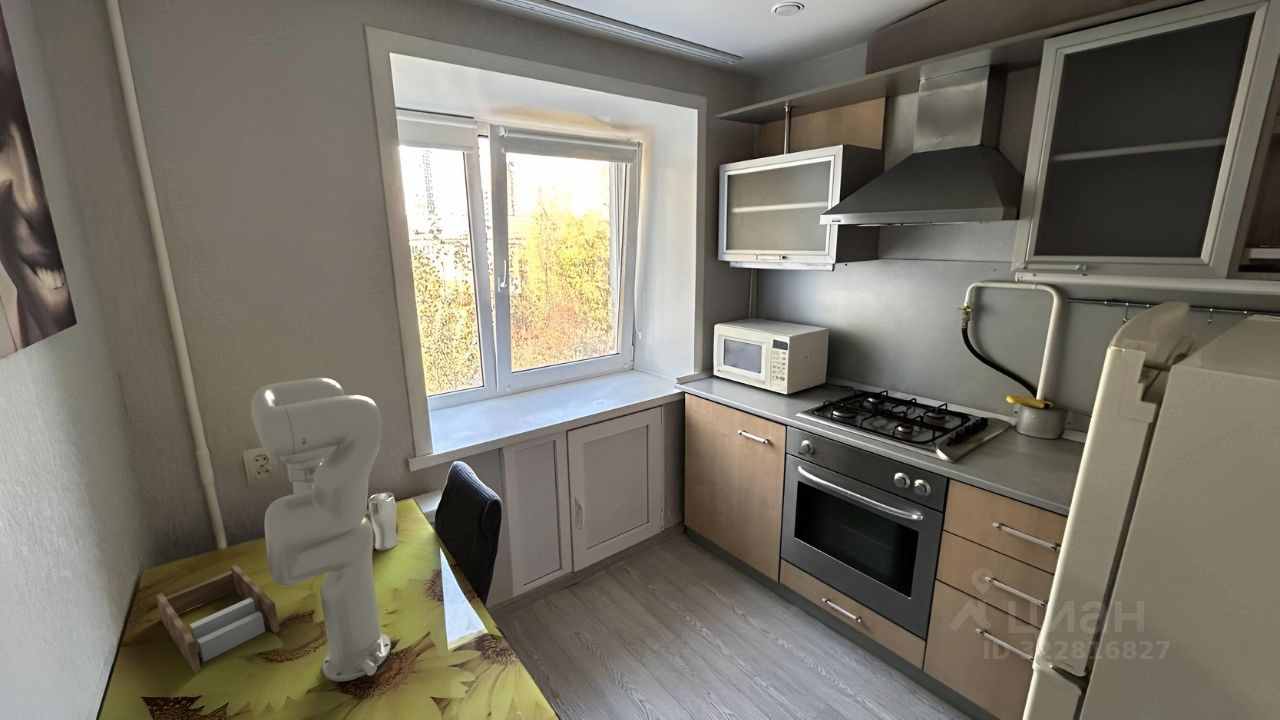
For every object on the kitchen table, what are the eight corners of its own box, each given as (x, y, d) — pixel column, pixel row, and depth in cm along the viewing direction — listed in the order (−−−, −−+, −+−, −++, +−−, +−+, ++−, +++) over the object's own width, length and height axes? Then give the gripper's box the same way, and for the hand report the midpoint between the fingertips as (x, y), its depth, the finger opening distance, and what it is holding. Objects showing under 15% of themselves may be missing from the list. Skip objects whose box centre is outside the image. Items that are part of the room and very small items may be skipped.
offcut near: (258, 623, 119) (253, 600, 118) (197, 652, 110) (192, 628, 109) (254, 620, 120) (250, 597, 119) (194, 648, 111) (189, 624, 110)
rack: (279, 630, 116) (274, 603, 115) (195, 673, 104) (188, 643, 103) (238, 586, 132) (233, 562, 131) (160, 619, 120) (154, 592, 119)
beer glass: (405, 542, 152) (399, 495, 149) (382, 554, 146) (376, 505, 143) (391, 536, 155) (385, 489, 152) (368, 547, 149) (362, 499, 147)
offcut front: (265, 632, 116) (262, 614, 115) (203, 662, 108) (199, 643, 107) (262, 628, 117) (259, 611, 116) (201, 658, 109) (197, 639, 108)
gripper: (339, 474, 122) (349, 543, 125) (309, 457, 132) (318, 522, 135) (304, 485, 116) (315, 558, 119) (275, 467, 126) (286, 534, 130)
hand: (317, 538), depth 127 cm, fingers closed on utensil holder, 5 cm apart
